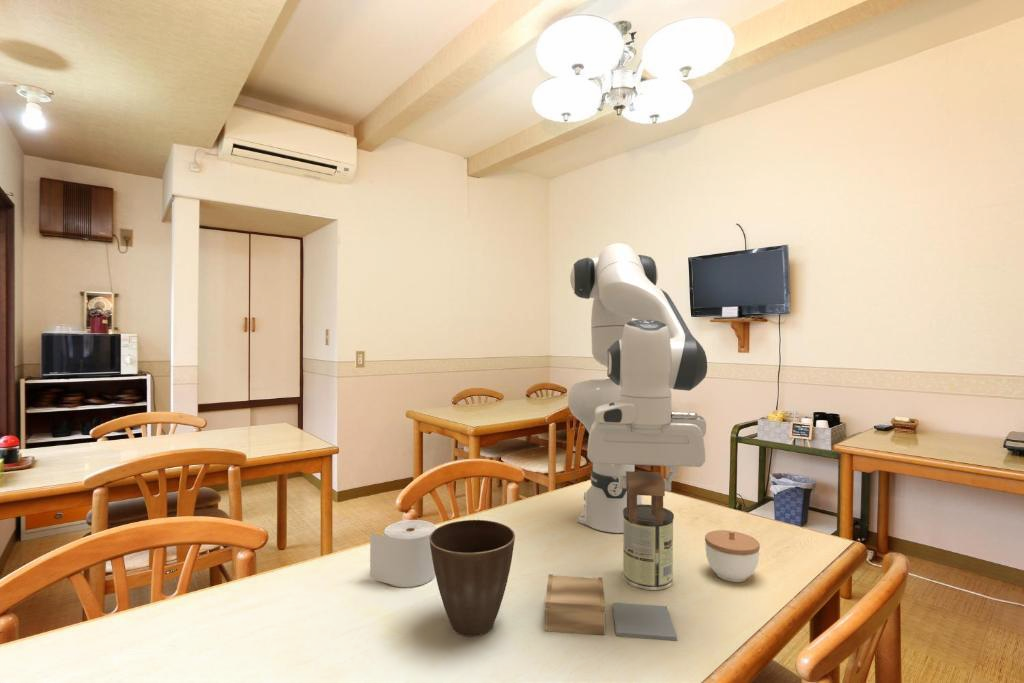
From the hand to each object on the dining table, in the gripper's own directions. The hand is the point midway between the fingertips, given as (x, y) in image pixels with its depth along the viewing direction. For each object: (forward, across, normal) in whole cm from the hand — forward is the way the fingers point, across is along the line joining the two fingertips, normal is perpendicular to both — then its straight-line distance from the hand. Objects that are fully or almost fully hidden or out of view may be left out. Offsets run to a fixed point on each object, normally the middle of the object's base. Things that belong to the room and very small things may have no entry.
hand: (644, 489), depth 93 cm
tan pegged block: (+5, 0, 0) cm, 5 cm away
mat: (+24, 0, 0) cm, 24 cm away
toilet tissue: (+24, +47, -11) cm, 54 cm away
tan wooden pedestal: (+24, +12, 0) cm, 27 cm away
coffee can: (+24, -3, -17) cm, 30 cm away
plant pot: (+24, +30, +5) cm, 39 cm away
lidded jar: (+24, -21, -21) cm, 38 cm away
